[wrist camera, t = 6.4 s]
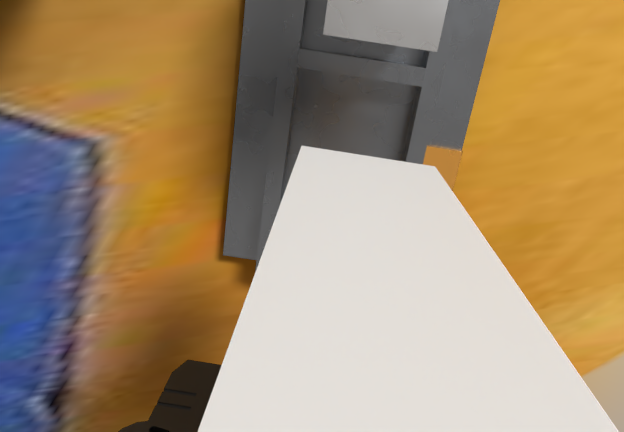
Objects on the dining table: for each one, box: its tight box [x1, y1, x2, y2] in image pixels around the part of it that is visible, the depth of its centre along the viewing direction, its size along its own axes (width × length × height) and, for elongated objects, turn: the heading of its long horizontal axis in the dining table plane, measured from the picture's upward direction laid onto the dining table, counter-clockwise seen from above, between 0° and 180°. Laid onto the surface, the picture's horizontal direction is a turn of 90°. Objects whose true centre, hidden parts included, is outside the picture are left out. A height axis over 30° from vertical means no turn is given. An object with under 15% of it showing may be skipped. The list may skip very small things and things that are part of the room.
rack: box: [223, 0, 500, 272], centre depth 24 cm, size 14×27×13 cm, turn 172°
